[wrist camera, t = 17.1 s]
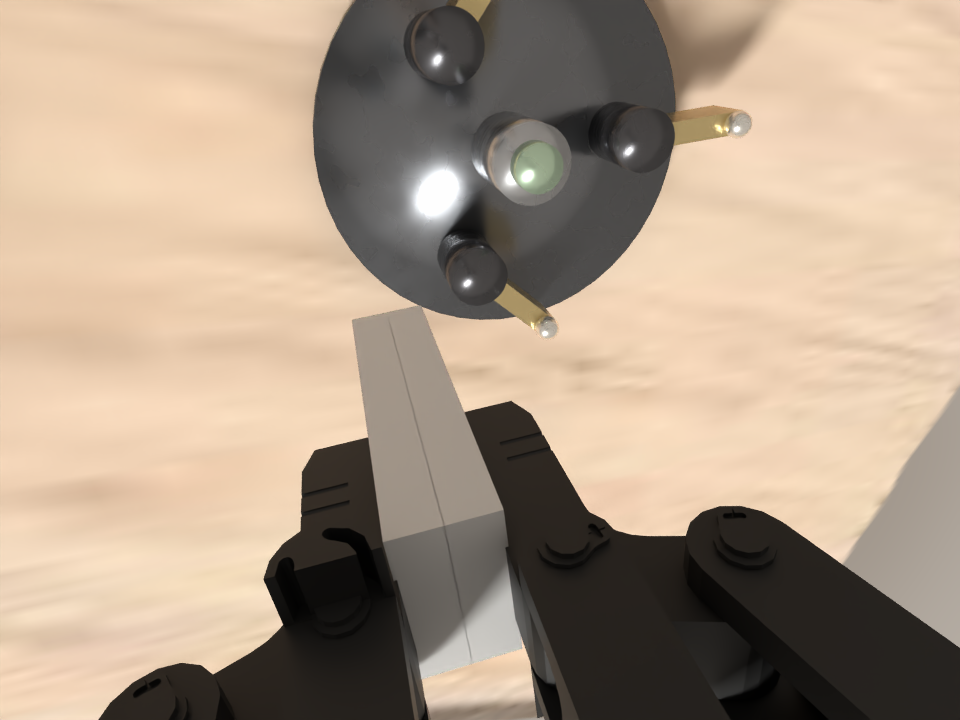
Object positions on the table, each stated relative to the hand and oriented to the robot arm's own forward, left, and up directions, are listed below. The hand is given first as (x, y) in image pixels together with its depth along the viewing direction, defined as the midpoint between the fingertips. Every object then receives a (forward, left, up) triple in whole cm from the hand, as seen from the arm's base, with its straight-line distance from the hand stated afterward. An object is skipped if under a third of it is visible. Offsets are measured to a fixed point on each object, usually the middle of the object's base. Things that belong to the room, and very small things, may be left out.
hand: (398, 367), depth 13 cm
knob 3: (0, +18, -22) cm, 28 cm away
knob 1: (-7, +7, -22) cm, 24 cm away
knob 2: (+7, +7, -22) cm, 25 cm away
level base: (0, +9, -24) cm, 26 cm away
